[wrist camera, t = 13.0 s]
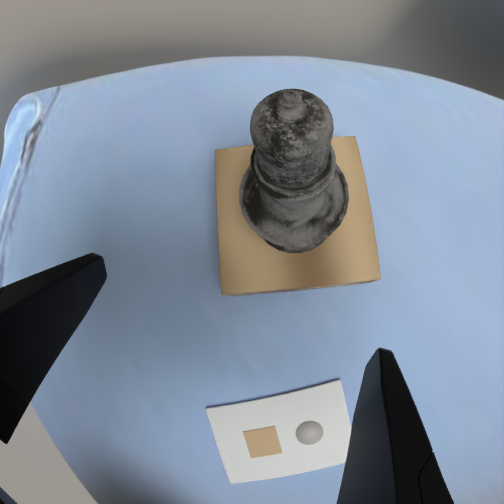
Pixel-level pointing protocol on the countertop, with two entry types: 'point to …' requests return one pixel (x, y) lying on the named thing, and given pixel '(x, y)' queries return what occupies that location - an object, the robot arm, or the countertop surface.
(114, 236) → the countertop surface
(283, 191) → the weathered stone finial
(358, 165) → the base brick
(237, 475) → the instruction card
